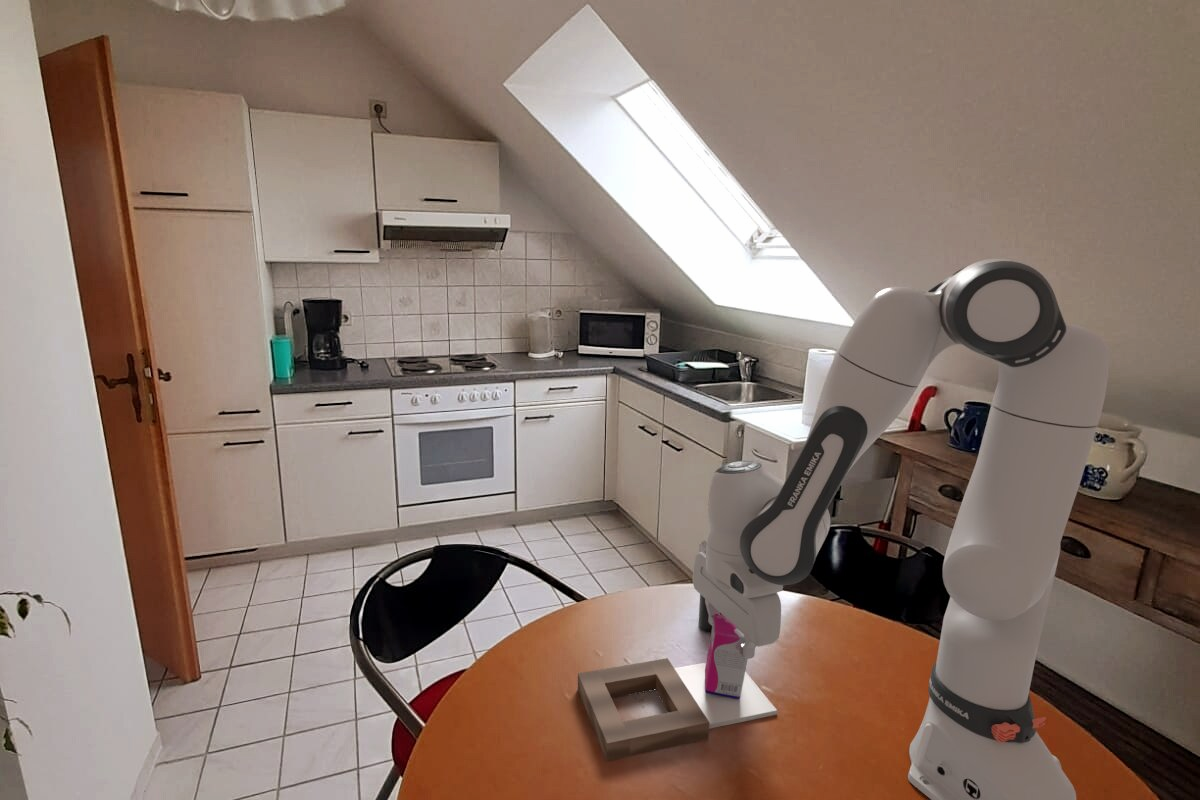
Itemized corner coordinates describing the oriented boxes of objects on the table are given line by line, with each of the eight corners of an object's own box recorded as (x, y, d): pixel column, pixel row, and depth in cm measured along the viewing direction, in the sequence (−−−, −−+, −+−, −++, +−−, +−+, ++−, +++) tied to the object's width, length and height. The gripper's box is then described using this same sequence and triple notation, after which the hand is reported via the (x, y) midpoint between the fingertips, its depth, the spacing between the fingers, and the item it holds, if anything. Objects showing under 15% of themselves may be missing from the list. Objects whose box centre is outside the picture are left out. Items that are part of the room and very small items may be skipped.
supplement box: (738, 675, 108) (749, 618, 105) (740, 700, 103) (752, 640, 99) (704, 669, 109) (714, 611, 106) (704, 693, 103) (715, 633, 100)
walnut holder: (708, 739, 95) (709, 722, 94) (606, 761, 90) (607, 743, 90) (666, 673, 110) (667, 658, 109) (577, 689, 105) (577, 673, 105)
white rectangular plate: (776, 714, 101) (777, 710, 101) (708, 728, 97) (708, 724, 97) (733, 661, 114) (734, 657, 114) (672, 672, 110) (672, 668, 110)
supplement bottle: (731, 618, 128) (735, 563, 125) (735, 638, 121) (739, 580, 118) (697, 615, 128) (700, 561, 126) (698, 635, 122) (702, 577, 119)
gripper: (684, 538, 109) (682, 612, 111) (754, 594, 90) (749, 681, 93) (716, 533, 111) (713, 605, 114) (790, 586, 92) (785, 671, 95)
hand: (730, 640), depth 103 cm, fingers open, 8 cm apart
